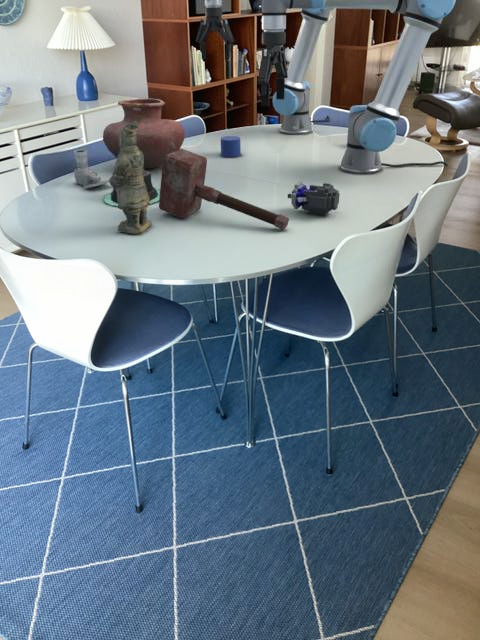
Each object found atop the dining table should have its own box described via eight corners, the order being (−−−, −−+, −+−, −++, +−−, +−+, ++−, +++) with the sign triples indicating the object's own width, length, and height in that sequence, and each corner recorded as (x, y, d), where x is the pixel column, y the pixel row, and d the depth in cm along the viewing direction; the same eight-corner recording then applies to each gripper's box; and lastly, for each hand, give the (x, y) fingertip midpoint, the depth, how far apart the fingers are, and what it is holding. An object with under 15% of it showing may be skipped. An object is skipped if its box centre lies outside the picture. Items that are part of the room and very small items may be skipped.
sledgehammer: (299, 190, 156) (179, 147, 167) (285, 200, 148) (161, 154, 160) (286, 244, 166) (174, 200, 177) (272, 256, 158) (156, 209, 170)
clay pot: (194, 158, 230) (190, 94, 217) (174, 179, 204) (168, 107, 192) (124, 156, 235) (116, 93, 222) (96, 176, 209) (85, 106, 197)
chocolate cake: (91, 202, 180) (113, 186, 197) (142, 231, 182) (160, 212, 199) (107, 162, 172) (129, 148, 190) (160, 192, 174) (177, 176, 192)
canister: (217, 156, 233) (216, 139, 229) (228, 152, 239) (227, 135, 235) (233, 158, 229) (233, 141, 225) (244, 154, 235) (244, 137, 231)
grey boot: (85, 147, 201) (110, 154, 192) (90, 179, 207) (114, 187, 198) (64, 151, 195) (89, 159, 186) (70, 184, 201) (94, 193, 193)
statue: (131, 220, 168) (117, 116, 152) (158, 224, 164) (147, 118, 149) (109, 233, 159) (93, 124, 144) (138, 237, 156) (124, 126, 140)
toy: (295, 178, 172) (342, 184, 166) (295, 205, 177) (340, 211, 171) (285, 186, 166) (333, 192, 160) (284, 213, 170) (331, 220, 164)
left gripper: (186, 7, 249) (189, 59, 260) (231, 6, 236) (232, 61, 247) (197, 6, 254) (199, 57, 265) (241, 6, 242) (242, 59, 252)
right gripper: (277, 28, 186) (276, 96, 196) (246, 33, 166) (247, 108, 177) (298, 28, 183) (296, 97, 194) (269, 33, 163) (269, 109, 174)
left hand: (215, 59), depth 256 cm, fingers open, 13 cm apart
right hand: (272, 102), depth 185 cm, fingers open, 13 cm apart
